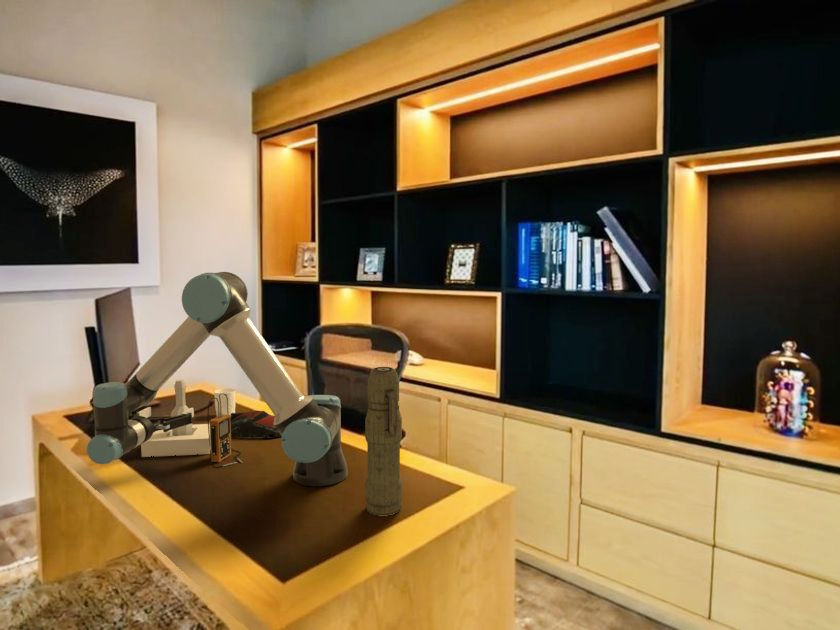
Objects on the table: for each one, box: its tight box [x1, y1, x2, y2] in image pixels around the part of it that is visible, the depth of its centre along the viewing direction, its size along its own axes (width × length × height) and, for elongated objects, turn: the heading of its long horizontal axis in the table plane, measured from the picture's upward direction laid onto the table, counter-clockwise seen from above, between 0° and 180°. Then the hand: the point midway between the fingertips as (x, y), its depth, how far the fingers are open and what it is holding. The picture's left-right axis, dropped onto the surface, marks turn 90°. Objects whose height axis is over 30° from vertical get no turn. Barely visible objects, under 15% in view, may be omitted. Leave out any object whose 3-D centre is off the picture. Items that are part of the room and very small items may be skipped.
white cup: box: [213, 388, 237, 417], centre depth 219 cm, size 8×8×10 cm
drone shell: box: [230, 410, 282, 439], centre depth 199 cm, size 21×20×8 cm
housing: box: [140, 423, 211, 458], centre depth 184 cm, size 16×20×5 cm
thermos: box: [364, 366, 403, 515], centre depth 138 cm, size 9×12×35 cm
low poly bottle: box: [170, 379, 193, 436], centre depth 183 cm, size 6×6×22 cm
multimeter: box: [207, 393, 244, 469], centre depth 172 cm, size 15×10×20 cm
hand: (171, 411), depth 177 cm, fingers open, 13 cm apart
